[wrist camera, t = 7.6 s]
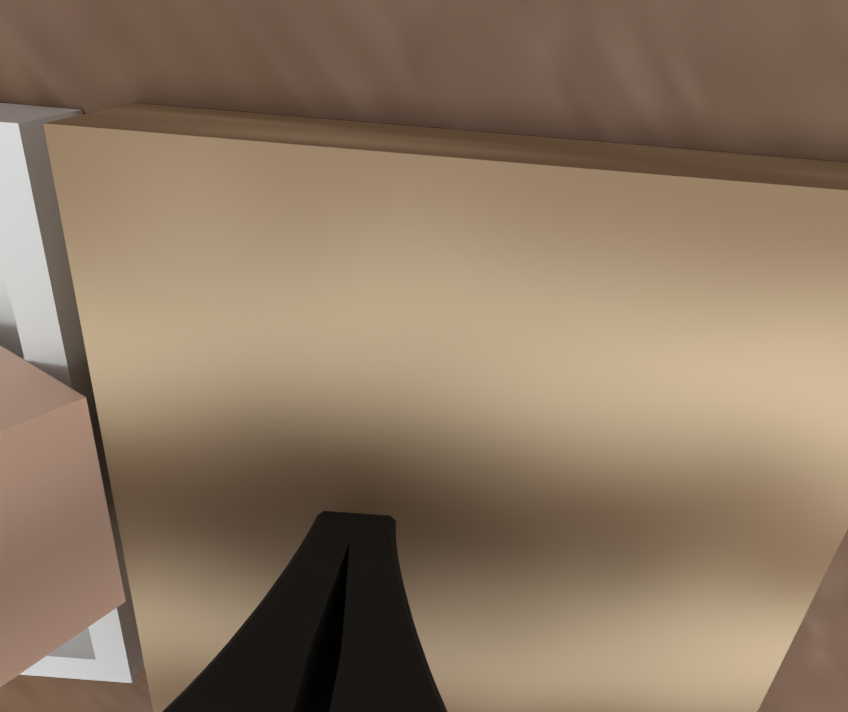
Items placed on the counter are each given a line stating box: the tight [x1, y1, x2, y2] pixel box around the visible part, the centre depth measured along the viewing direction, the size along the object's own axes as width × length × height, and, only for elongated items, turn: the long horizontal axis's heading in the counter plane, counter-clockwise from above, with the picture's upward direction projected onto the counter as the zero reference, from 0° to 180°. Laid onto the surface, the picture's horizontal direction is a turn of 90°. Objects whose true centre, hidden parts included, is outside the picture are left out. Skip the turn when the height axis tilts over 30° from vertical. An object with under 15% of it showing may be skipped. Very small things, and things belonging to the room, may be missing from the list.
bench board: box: [43, 103, 848, 712], centre depth 14 cm, size 14×14×3 cm
